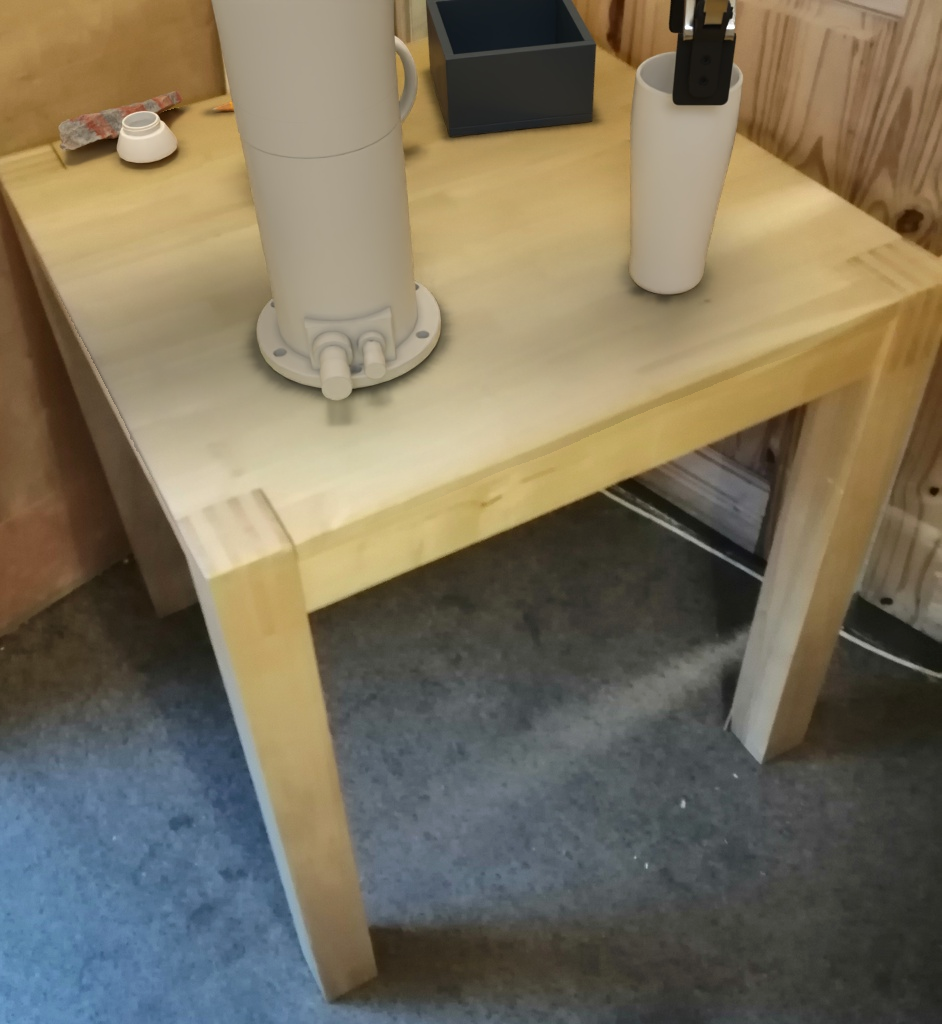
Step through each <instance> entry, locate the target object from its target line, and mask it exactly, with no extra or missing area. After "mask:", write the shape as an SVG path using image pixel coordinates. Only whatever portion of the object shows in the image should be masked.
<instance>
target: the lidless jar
mask: <svg viewBox="0 0 942 1024" xmlns="http://www.w3.org/2000/svg"><path fill="white" fill-rule="evenodd" d="M178 145H179V142H178V139H177V136H176V134H175V133H174V132H173V131H172V130H171V128H169V127H168V125H167V124H166V123H165V121H163V120H161V118H160V116H159V115H157V114H156V113H154V112H149V111H141V112H135V113H132V114H130V115H128V116H126V117H125V118H124V119H123V121H122V128H121V130H120V134H119V137H118V139H117V144H116V152H117V154H118V156H119V158H120V159H123V160H124V161H126V162H131V163H137V164H147V163H148V164H149V163H153V162H157V161H160V160H162V159H165V158H166V157H169V156H170V155H172V154H173V153H174V152H175V151H176V150H177V148H178Z"/></svg>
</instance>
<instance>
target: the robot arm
mask: <svg viewBox="0 0 942 1024" xmlns="http://www.w3.org/2000/svg"><path fill="white" fill-rule="evenodd" d="M210 1H211V5H212V10H213V15H214V19H215V20H214V21H215V24H216V25H215V26H216V28H217V29H216V30H217V34H218V39H219V44H220V48H221V53H222V59H223V63H224V68H225V73H226V74H225V75H226V78H227V83H228V89H229V93H230V99H231V101H232V104H233V108H234V111H233V113H234V118H235V122H236V128H237V132H238V135H239V137H240V138H239V139H240V143H241V148H242V153H243V157H244V163H245V167H246V172H247V177H248V182H249V187H250V193H251V198H252V202H253V207H254V212H255V217H256V222H257V226H258V231H259V232H258V233H259V237H260V242H261V248H262V252H263V257H264V261H265V262H264V263H265V266H266V271H267V276H268V282H269V287H270V291H271V296H272V297H271V298H270V299H269V300H268V301H267V302H266V304H265V305H264V307H263V308H262V310H261V311H260V313H259V315H258V319H257V323H256V327H255V328H256V339H257V344H258V347H259V351H260V353H261V355H262V357H263V359H264V360H265V362H266V363H267V365H269V366H270V367H271V368H272V369H273V370H274V371H275V372H276V373H278V374H279V375H281V376H283V377H284V378H286V379H287V380H291V381H293V382H296V383H298V384H300V385H304V386H309V387H313V388H317V389H318V388H319V389H321V394H322V395H323V396H324V397H325V398H327V399H328V400H331V401H342V400H344V399H347V398H348V397H349V396H350V395H351V394H352V392H353V389H360V388H367V387H371V386H376V385H379V384H382V383H385V382H389V381H391V380H393V379H396V378H398V377H401V376H403V375H405V374H406V373H408V372H409V371H411V370H412V369H414V368H416V367H417V366H419V365H420V364H421V363H422V362H423V361H424V360H425V359H426V358H427V357H428V356H429V355H430V354H431V352H432V351H433V349H434V348H435V347H436V346H437V344H438V341H439V338H440V336H441V330H442V329H441V328H442V320H441V319H442V318H441V308H440V306H439V304H438V301H437V299H436V297H435V296H434V295H433V293H432V292H431V291H430V289H428V288H427V287H426V286H425V285H423V284H422V283H421V282H419V281H418V280H416V279H415V269H414V256H413V255H414V254H413V242H412V232H411V221H410V210H409V209H410V208H409V195H408V184H407V173H406V162H405V161H406V159H405V151H404V150H405V148H404V139H403V126H402V125H403V124H402V123H401V113H400V106H399V101H400V95H399V82H398V71H397V70H398V69H397V56H396V54H397V53H396V51H395V36H396V35H395V0H210ZM737 2H738V1H737V0H670V5H669V16H668V30H669V31H670V33H672V34H677V38H676V39H677V40H676V49H675V51H676V60H675V71H674V82H673V93H672V98H673V103H674V104H676V105H724V104H726V103H727V101H728V97H729V90H730V82H731V74H732V67H733V63H734V59H735V50H736V43H737V33H736V32H735V31H736V19H737V18H736V17H737Z"/></svg>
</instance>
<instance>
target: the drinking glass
mask: <svg viewBox="0 0 942 1024" xmlns="http://www.w3.org/2000/svg"><path fill="white" fill-rule="evenodd" d="M675 60H676V50H674V51H673V50H672V51H668V52H663V53H658V54H656V55H653V56H651V57H648V58H647V59H645V60H643V62H641V63H640V64H639V65H638V67H637V68H636V71H635V78H634V85H633V93H632V99H631V100H632V101H631V110H630V125H629V186H630V187H629V198H630V199H629V202H630V204H629V205H630V206H629V207H630V208H629V209H630V211H629V212H630V229H629V230H630V232H629V233H630V235H629V238H630V245H629V246H630V247H629V248H630V249H629V257H628V258H629V259H628V271H629V276H630V277H631V279H632V281H633V282H634V283H635V284H636V285H637V286H639V287H640V288H641V289H643V290H645V291H646V292H647V291H648V292H651V293H652V294H658V295H669V296H670V295H679V294H682V293H686V292H688V291H690V290H692V289H694V288H695V287H696V286H698V284H700V282H701V281H702V279H703V278H704V277H703V276H704V273H705V269H706V264H707V263H706V262H707V256H708V252H709V251H708V250H709V247H710V242H711V238H712V233H713V229H714V225H715V221H716V218H717V213H718V209H719V205H720V202H721V197H722V193H723V189H724V185H725V181H726V177H727V173H728V170H729V166H730V162H731V158H732V155H733V154H732V153H733V150H734V145H735V141H736V136H737V130H738V124H739V119H740V113H741V112H740V111H741V103H742V95H743V85H744V84H743V83H744V74H743V71H742V69H741V68H740V67H739V66H738V65H737V64H736V63H735V62H733V67H732V74H731V82H730V90H729V97H728V101H727V103H726V104H724V105H676V104H674V103H673V98H672V93H673V82H674V71H675Z"/></svg>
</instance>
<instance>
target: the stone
mask: <svg viewBox="0 0 942 1024" xmlns="http://www.w3.org/2000/svg"><path fill="white" fill-rule="evenodd" d="M183 100H184V98H183V96H182V95H181V93H180V91H179V90H174V91H170V92H168V93H164V94H161V95H158V96H156V97H151V98H150V99H147V100H145V101H138V102H135V103H134V102H133V103H131V104H129V105H118V106H114V107H113V108H108V109H104V110H101V111H97V112H92V113H84V114H80V115H78V116H77V117H76V118H68V119H66V120H65V121H61V122H60V124H59V125H58V127H57V128H58V130H59V138H60V140H61V143H60V144H59V148H60V150H62V151H74V150H77V149H79V148H82V147H84V146H86V145H89V144H92V143H94V142H96V141H101V140H110V139H113V140H115V139H117V138H119V134H120V130H121V128H122V121H123V119H124V118H125V117H126V116H128V115H130V114H132V113H135V112H141V111H149V112H154V113H156V114H157V115H158V116H159V115H160V114H162V113H163V112H165V111H167V110H170V109H172V108H174V107H175V106H177V105H179V104H180V103H182V102H183Z"/></svg>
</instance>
